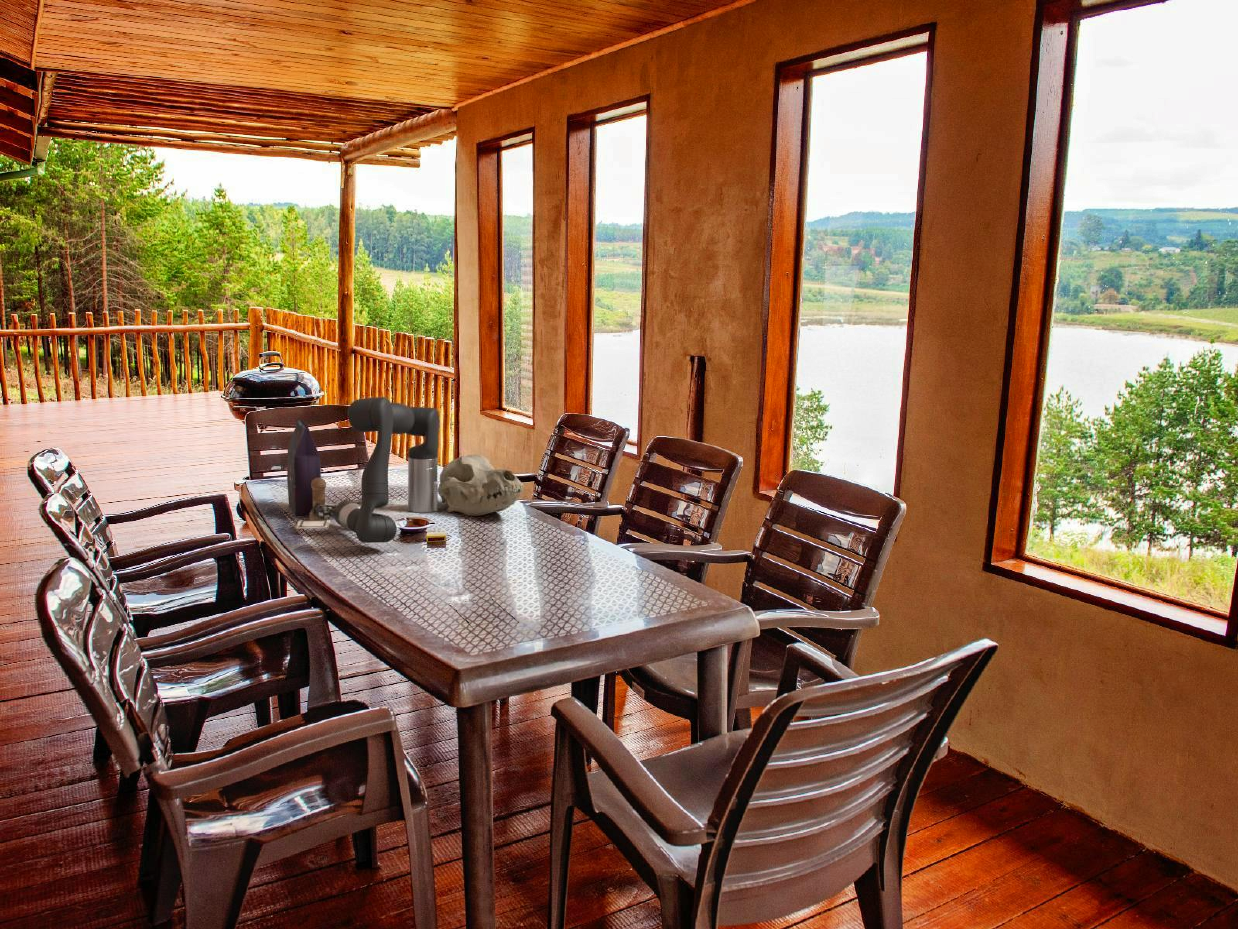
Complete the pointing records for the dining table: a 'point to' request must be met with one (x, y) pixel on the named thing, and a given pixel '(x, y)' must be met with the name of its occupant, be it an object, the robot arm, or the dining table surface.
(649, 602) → the dining table surface
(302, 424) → the purple printed bag
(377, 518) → the robot arm
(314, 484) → the stamp
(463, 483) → the animal skull
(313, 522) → the sheet
